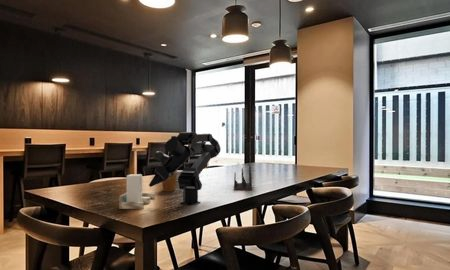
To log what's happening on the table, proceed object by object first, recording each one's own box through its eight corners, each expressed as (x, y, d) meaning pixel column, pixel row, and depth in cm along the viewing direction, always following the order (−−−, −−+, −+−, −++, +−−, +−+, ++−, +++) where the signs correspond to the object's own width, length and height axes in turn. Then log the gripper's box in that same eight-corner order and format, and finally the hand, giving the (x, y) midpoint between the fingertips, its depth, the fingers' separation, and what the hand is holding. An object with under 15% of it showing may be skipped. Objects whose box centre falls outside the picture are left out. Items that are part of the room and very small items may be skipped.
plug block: (141, 204, 126) (142, 174, 126) (138, 207, 121) (138, 175, 121) (130, 204, 126) (130, 174, 126) (126, 207, 121) (126, 175, 121)
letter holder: (250, 185, 182) (250, 162, 182) (251, 190, 162) (251, 165, 162) (234, 185, 182) (234, 162, 182) (233, 190, 162) (233, 165, 163)
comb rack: (155, 198, 139) (155, 187, 139) (142, 208, 118) (142, 196, 118) (135, 198, 139) (135, 187, 139) (119, 208, 118) (119, 196, 118)
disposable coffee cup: (158, 191, 157) (158, 169, 157) (162, 188, 166) (162, 167, 166) (175, 192, 156) (175, 169, 157) (179, 189, 166) (179, 167, 166)
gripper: (169, 144, 133) (144, 168, 133) (160, 144, 114) (131, 173, 114) (186, 161, 133) (162, 186, 133) (180, 165, 114) (151, 193, 114)
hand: (152, 184), depth 123 cm, fingers open, 9 cm apart
